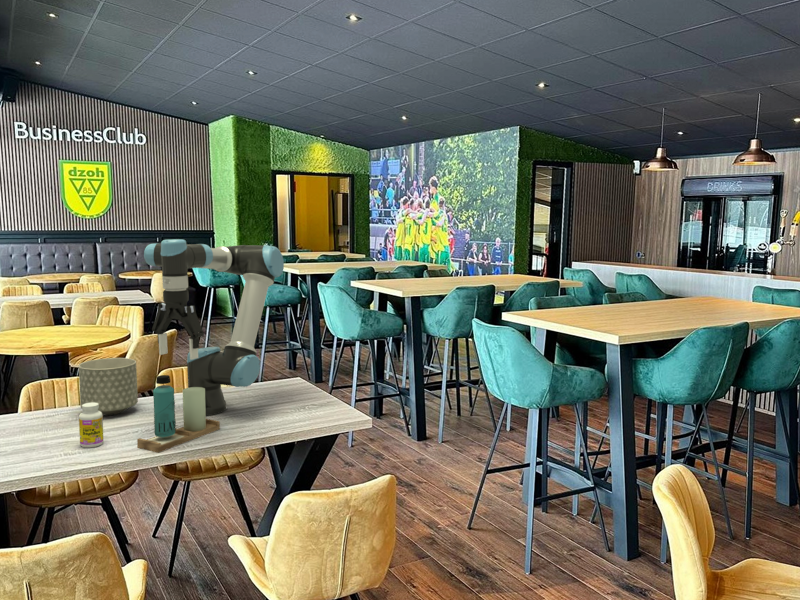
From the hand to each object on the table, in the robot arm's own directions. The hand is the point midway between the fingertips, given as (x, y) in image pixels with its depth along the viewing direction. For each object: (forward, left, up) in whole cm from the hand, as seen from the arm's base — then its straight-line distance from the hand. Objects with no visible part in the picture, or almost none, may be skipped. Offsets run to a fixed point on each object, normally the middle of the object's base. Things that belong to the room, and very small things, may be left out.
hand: (178, 356), depth 205 cm
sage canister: (-1, +7, -25) cm, 26 cm away
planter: (-45, +9, -27) cm, 53 cm away
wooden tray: (-1, +1, -27) cm, 27 cm away
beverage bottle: (-1, -5, -26) cm, 26 cm away
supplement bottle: (-20, -17, -27) cm, 38 cm away
